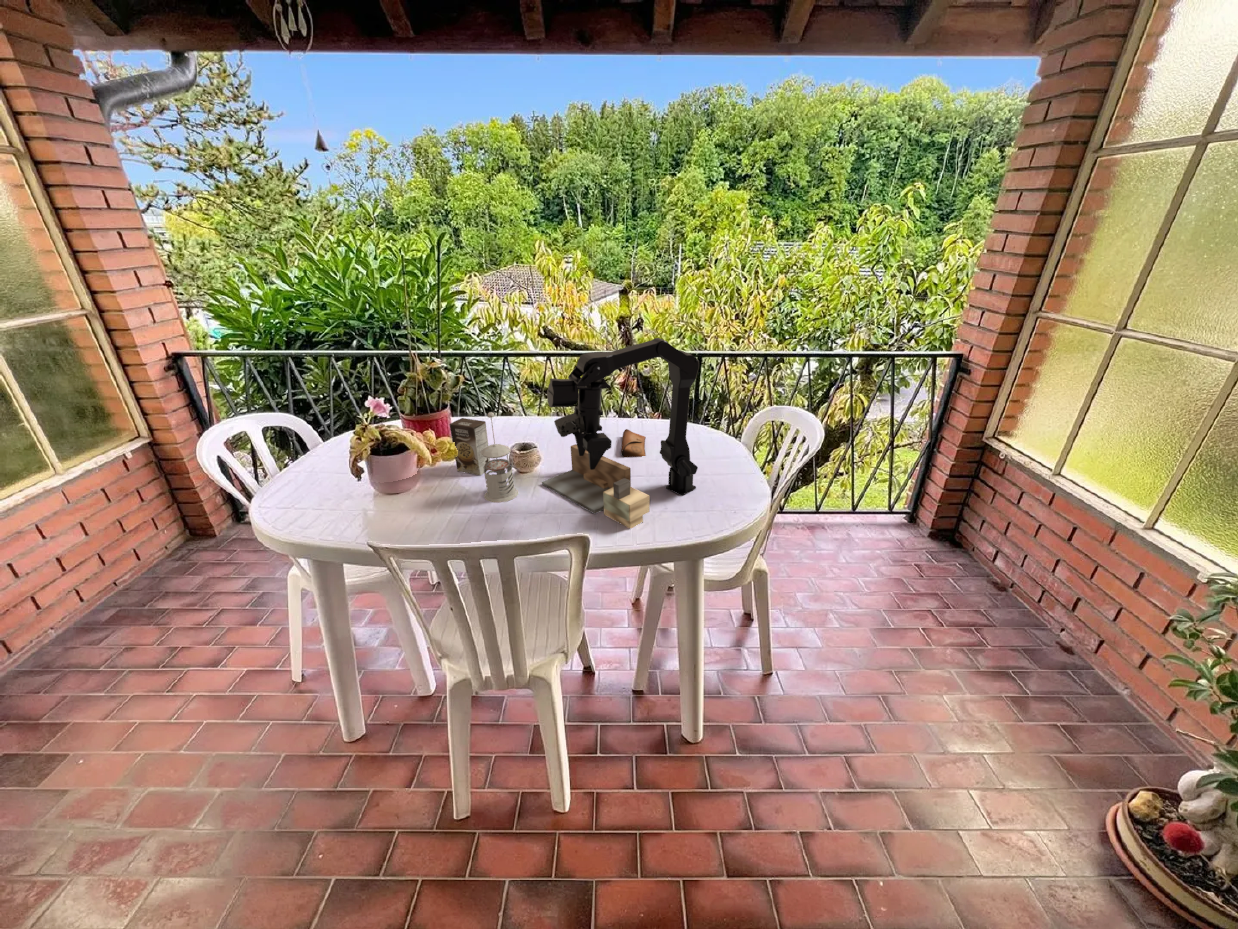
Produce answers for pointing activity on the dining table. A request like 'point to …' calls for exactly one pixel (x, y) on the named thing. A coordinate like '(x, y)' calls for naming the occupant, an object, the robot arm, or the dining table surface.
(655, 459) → the dining table surface
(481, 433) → the coffee box
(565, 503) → the dining table surface
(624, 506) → the wooden block
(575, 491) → the wall board
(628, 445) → the sunglasses case
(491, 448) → the french press
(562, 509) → the dining table surface
